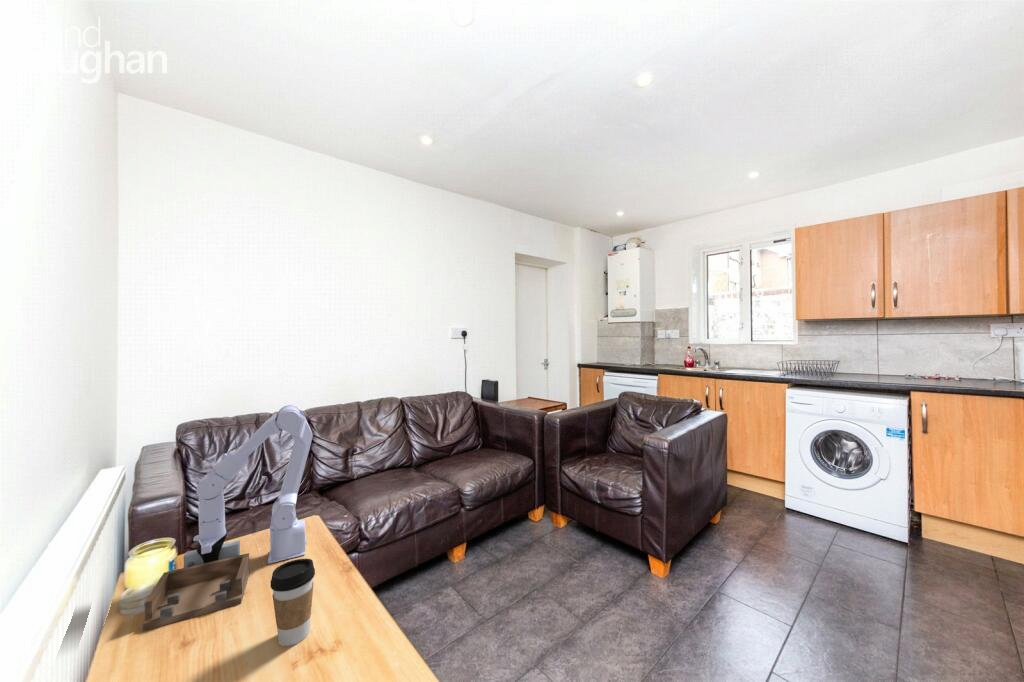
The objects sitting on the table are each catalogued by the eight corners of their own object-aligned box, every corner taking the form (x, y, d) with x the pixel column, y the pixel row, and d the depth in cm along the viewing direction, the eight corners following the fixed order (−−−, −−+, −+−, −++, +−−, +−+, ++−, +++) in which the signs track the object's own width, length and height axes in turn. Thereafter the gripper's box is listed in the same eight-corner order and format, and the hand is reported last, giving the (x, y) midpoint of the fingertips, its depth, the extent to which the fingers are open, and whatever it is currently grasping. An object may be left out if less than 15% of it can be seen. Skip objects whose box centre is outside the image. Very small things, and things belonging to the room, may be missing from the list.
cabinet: (249, 572, 105) (249, 553, 105) (241, 603, 93) (240, 581, 93) (164, 594, 97) (164, 572, 97) (142, 631, 84) (142, 606, 84)
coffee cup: (302, 651, 78) (301, 578, 78) (262, 651, 78) (260, 579, 78) (323, 620, 86) (322, 555, 86) (287, 621, 87) (285, 555, 87)
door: (240, 564, 109) (239, 540, 109) (238, 570, 106) (237, 545, 106) (186, 577, 104) (186, 551, 104) (183, 583, 101) (182, 557, 101)
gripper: (200, 510, 110) (201, 557, 110) (185, 533, 97) (186, 586, 97) (230, 505, 113) (231, 550, 113) (220, 526, 100) (221, 577, 100)
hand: (213, 566), depth 105 cm, fingers closed on door, 2 cm apart
